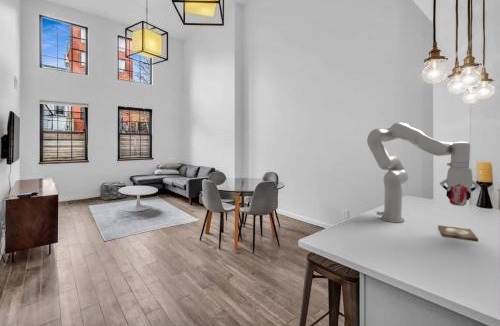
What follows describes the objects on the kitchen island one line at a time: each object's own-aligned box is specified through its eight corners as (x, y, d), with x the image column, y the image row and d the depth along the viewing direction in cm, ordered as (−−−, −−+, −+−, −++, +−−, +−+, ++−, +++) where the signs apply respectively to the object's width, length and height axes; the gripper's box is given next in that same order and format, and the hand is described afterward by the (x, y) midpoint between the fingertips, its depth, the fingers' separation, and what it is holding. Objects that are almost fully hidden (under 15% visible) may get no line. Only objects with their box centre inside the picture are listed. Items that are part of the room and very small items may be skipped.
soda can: (469, 206, 127) (471, 183, 126) (454, 206, 128) (455, 183, 127) (461, 203, 134) (462, 181, 133) (446, 203, 135) (447, 181, 134)
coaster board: (442, 236, 129) (442, 233, 129) (438, 227, 142) (438, 224, 142) (478, 241, 121) (478, 238, 121) (470, 231, 135) (470, 228, 135)
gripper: (439, 165, 131) (438, 198, 132) (484, 166, 122) (482, 202, 123) (438, 164, 137) (436, 196, 138) (479, 165, 128) (478, 199, 129)
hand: (458, 198), depth 131 cm, fingers closed on soda can, 7 cm apart
